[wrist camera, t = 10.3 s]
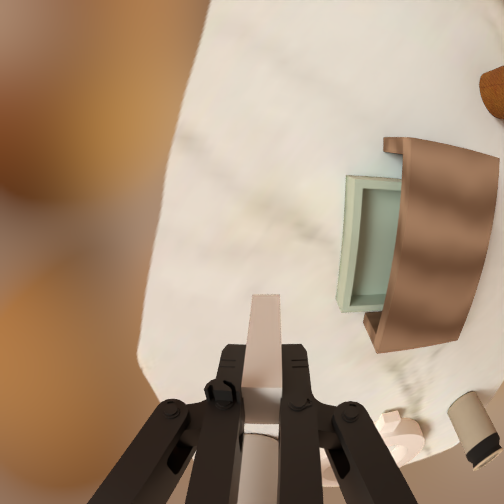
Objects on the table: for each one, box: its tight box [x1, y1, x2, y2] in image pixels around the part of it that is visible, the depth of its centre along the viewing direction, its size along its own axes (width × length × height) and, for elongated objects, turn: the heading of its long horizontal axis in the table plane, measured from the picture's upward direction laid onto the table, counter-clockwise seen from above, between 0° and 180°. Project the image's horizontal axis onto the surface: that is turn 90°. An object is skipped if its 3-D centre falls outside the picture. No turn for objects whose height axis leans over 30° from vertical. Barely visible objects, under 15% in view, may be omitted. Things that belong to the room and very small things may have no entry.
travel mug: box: [448, 392, 503, 471], centre depth 32 cm, size 8×8×18 cm
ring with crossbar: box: [320, 411, 425, 487], centre depth 44 cm, size 28×28×5 cm
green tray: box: [336, 175, 402, 313], centre depth 27 cm, size 14×12×3 cm
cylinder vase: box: [237, 434, 278, 504], centre depth 33 cm, size 12×12×25 cm
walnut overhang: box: [363, 137, 500, 354], centre depth 25 cm, size 22×12×6 cm, turn 2°
